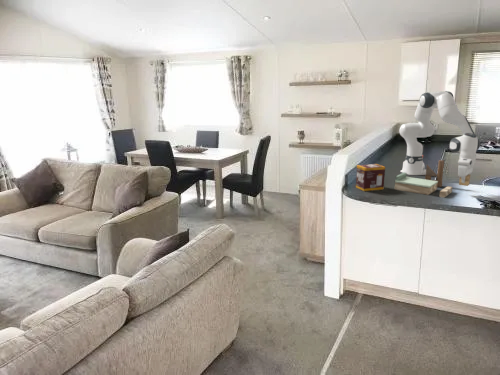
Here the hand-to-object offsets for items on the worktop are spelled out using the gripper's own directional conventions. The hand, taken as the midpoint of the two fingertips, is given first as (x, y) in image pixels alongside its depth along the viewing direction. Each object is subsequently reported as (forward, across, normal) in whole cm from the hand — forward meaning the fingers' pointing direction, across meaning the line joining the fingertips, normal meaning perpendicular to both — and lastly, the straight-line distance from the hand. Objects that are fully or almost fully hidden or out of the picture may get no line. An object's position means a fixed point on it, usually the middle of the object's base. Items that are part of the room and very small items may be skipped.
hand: (464, 181), depth 244 cm
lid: (+4, +6, -27) cm, 28 cm away
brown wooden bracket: (+8, -11, -21) cm, 25 cm away
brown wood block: (+2, 0, 0) cm, 2 cm away
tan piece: (+8, +6, -22) cm, 25 cm away
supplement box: (+9, +22, -52) cm, 57 cm away
